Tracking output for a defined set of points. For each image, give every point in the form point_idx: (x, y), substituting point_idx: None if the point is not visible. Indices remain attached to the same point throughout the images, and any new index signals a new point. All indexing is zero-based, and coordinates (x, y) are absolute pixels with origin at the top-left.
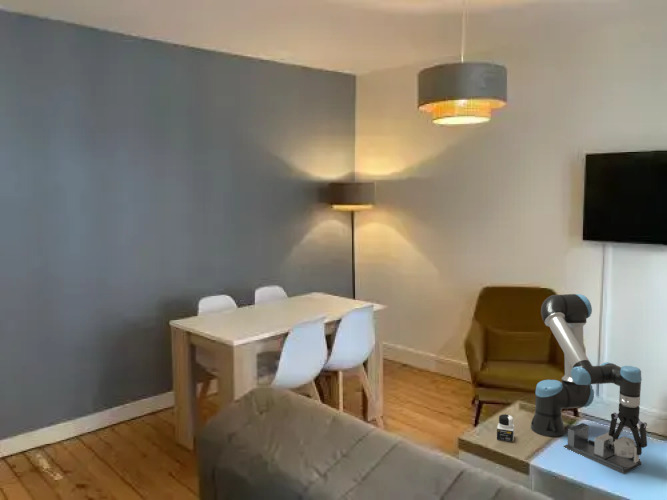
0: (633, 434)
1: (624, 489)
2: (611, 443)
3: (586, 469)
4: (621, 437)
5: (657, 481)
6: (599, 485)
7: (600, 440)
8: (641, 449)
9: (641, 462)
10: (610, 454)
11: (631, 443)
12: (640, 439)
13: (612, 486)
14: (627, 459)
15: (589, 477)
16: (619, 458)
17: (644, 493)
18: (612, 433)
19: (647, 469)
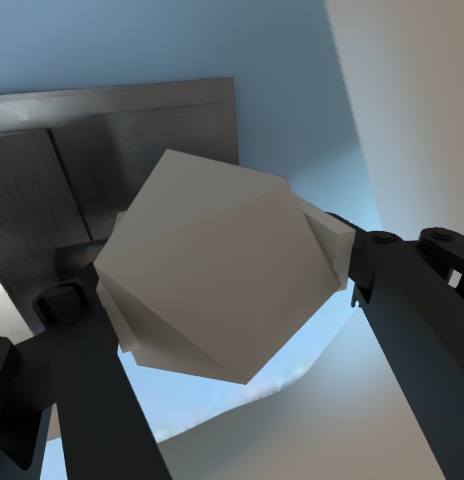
0: (434, 428)
1: (303, 343)
2: (51, 276)
3: (137, 376)
4: (179, 344)
5: (356, 191)
6: (246, 391)
7: (54, 434)
8: (361, 232)
9: (231, 82)
10: (82, 234)
11: (313, 314)
12: (438, 281)
13: (271, 363)
14: (165, 150)
15: (193, 394)
16: (130, 189)
17: (352, 307)
18: (28, 405)
19: (277, 110)
